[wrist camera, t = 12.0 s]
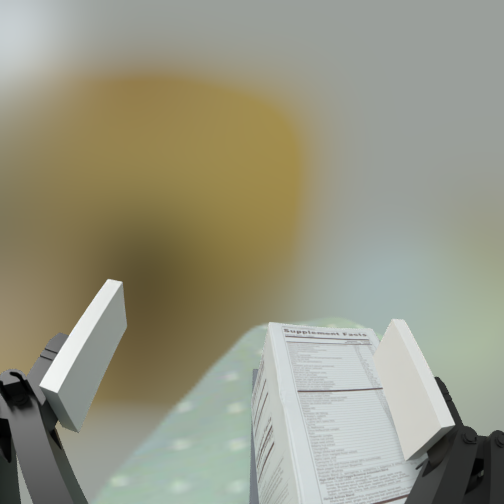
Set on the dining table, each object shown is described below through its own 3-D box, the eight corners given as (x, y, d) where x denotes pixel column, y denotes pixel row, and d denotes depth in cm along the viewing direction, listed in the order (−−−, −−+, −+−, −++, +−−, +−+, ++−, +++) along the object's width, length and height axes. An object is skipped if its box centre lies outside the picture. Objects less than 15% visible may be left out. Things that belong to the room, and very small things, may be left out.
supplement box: (392, 546, 12) (343, 400, 27) (473, 490, 8) (376, 326, 24) (258, 569, 11) (248, 398, 26) (300, 538, 8) (266, 318, 23)
